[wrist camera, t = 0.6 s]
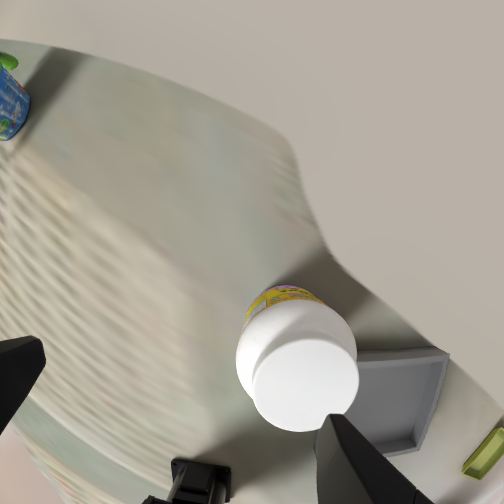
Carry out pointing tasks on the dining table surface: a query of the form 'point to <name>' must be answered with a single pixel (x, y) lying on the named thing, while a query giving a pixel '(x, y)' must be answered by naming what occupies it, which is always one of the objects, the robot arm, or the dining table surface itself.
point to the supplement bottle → (296, 359)
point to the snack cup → (11, 99)
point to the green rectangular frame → (485, 455)
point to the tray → (396, 396)
